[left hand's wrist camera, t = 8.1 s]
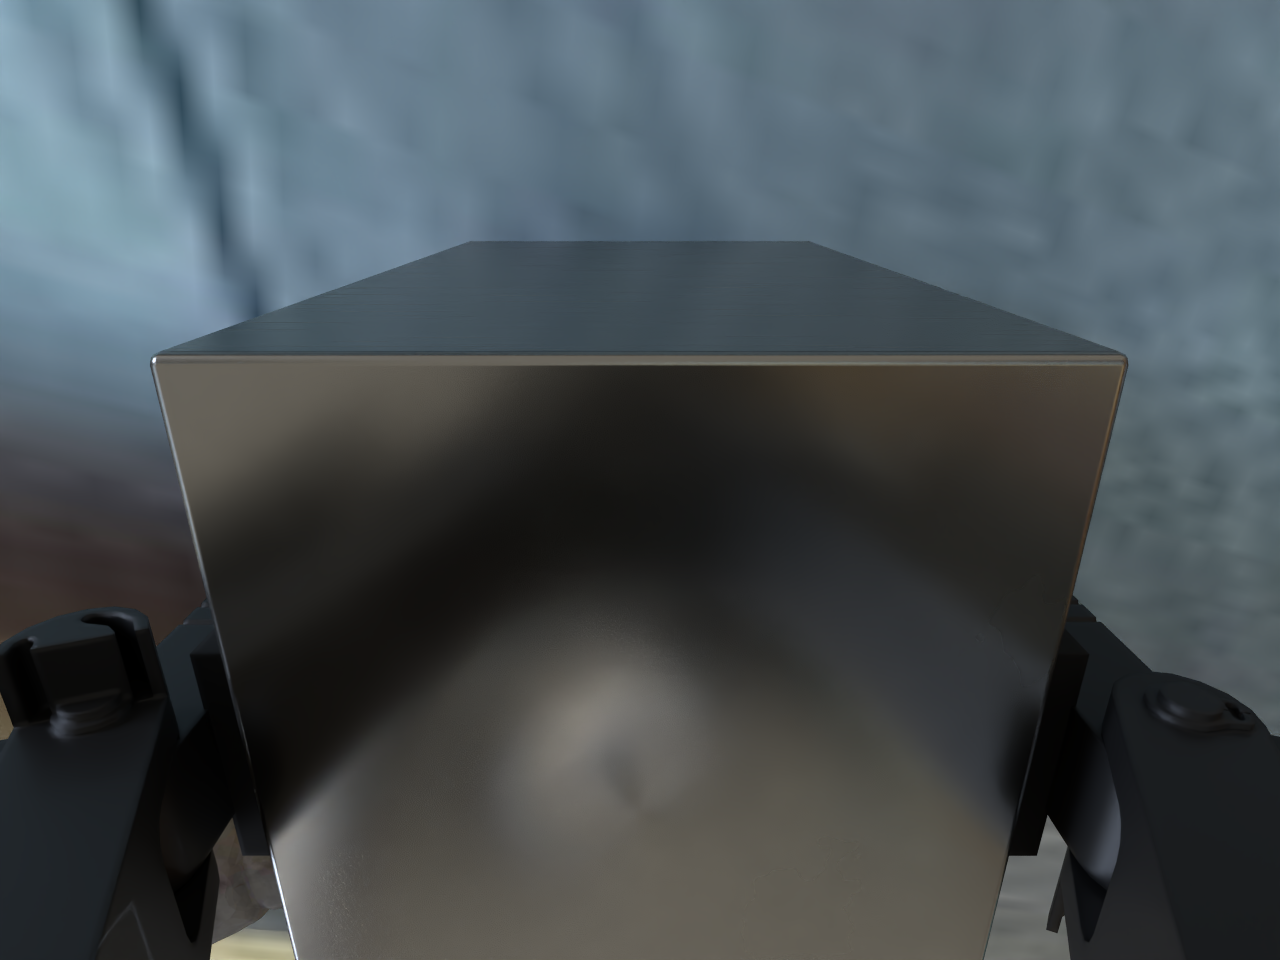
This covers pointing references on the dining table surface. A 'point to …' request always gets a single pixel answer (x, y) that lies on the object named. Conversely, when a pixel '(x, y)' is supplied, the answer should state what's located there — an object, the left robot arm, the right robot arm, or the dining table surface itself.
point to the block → (639, 596)
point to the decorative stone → (241, 886)
